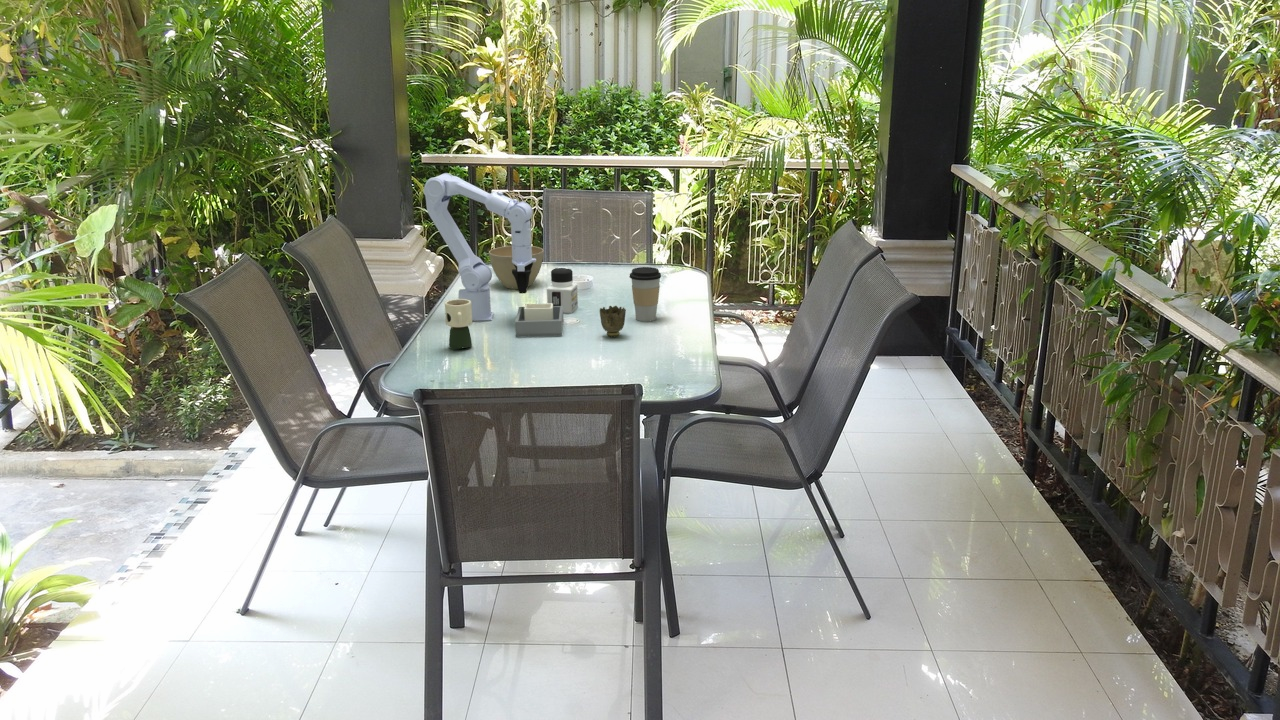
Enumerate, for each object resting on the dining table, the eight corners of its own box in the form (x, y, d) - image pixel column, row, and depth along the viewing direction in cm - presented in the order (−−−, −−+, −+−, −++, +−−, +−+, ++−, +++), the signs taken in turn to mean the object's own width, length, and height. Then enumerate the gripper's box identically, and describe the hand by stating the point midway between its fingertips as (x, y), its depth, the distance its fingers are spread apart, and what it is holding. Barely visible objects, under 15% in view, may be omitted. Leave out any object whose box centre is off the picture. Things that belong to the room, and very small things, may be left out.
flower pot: (555, 283, 361) (554, 248, 357) (522, 295, 347) (520, 258, 343) (513, 277, 370) (512, 242, 367) (479, 288, 356) (477, 252, 352)
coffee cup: (666, 316, 321) (666, 268, 317) (653, 324, 313) (653, 274, 308) (637, 313, 325) (637, 265, 320) (624, 321, 317) (623, 272, 312)
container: (571, 313, 325) (570, 272, 321) (547, 312, 327) (545, 271, 323) (578, 307, 333) (577, 266, 328) (554, 306, 334) (552, 265, 330)
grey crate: (515, 337, 303) (515, 321, 301) (519, 321, 318) (519, 306, 316) (561, 336, 303) (561, 320, 302) (563, 320, 318) (563, 306, 317)
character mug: (446, 343, 298) (443, 297, 294) (472, 341, 299) (469, 296, 295) (448, 354, 288) (445, 308, 284) (475, 352, 289) (472, 306, 285)
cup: (606, 341, 298) (606, 313, 295) (595, 334, 304) (595, 307, 302) (630, 337, 301) (630, 310, 299) (619, 331, 307) (618, 304, 305)
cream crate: (525, 328, 307) (524, 308, 306) (526, 323, 313) (525, 303, 311) (552, 328, 308) (552, 308, 306) (553, 323, 313) (552, 303, 311)
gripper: (534, 249, 305) (535, 295, 309) (536, 239, 319) (538, 283, 323) (509, 250, 305) (511, 296, 309) (512, 239, 318) (515, 283, 323)
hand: (523, 289), depth 316 cm, fingers open, 7 cm apart
